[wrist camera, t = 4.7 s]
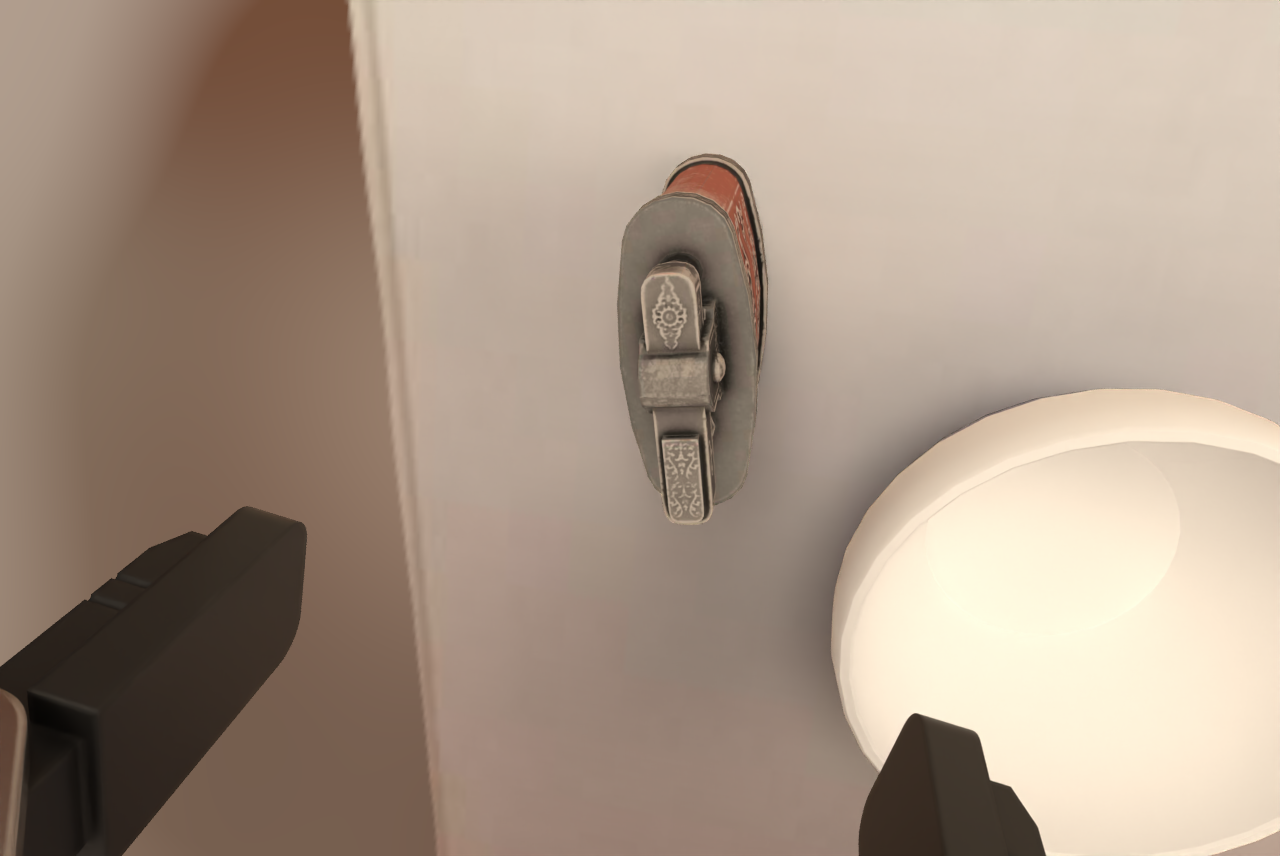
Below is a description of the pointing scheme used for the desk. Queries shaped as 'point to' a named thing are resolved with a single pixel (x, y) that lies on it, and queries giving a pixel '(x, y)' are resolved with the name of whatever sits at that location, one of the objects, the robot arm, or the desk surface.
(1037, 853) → the robot arm
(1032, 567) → the bowl
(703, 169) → the lighter
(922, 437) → the desk surface
